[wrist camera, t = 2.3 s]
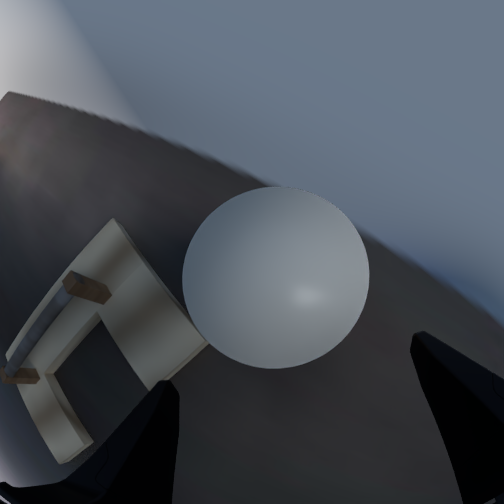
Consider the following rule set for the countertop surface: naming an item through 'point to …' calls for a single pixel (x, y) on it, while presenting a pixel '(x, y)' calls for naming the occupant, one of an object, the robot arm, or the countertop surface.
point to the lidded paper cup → (275, 277)
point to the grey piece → (85, 319)
